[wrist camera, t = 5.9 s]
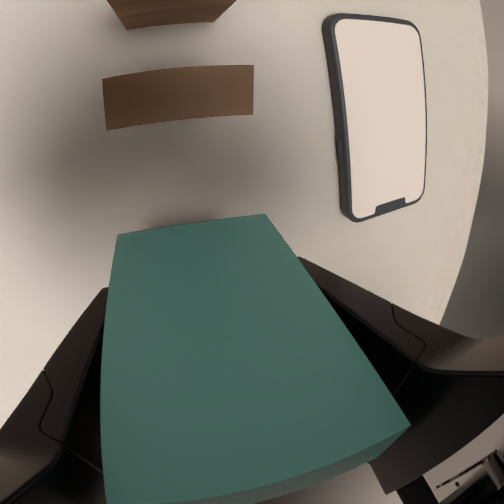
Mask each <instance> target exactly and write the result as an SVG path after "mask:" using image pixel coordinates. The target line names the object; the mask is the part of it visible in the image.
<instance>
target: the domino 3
mask: <svg viewBox="0 0 504 504" xmlns="http://www.w3.org/2000/svg"><path fill="white" fill-rule="evenodd" d="M100 423H101V449H102V464H103V476H104V485H105V494H106V502H107V504H252V503H255V502H259V501H263V500H267V499H271V498H274V497H278V496H281V495H285V494H288V493H291V492H294V491H297V490H300V489H303V488H306V487H309V486H312V485H314V484H317V483H320V482H323V481H325V480H328V479H330V478H333V477H335V476H338V475H340V474H342V473H345V472H347V471H349V470H352V469H353V468H356V467H358V466H360V465H362V464H364V463H367V462H369V461H371V460H373V459H375V458H377V457H378V456H379V455H380V454H381V453H382V452H383V451H384V450H386V449H387V448H388V447H389V446H390V445H391V444H392V443H393V442H394V441H395V440H396V439H397V438H398V437H399V436H400V435H401V434H403V433H404V432H405V431H406V430H407V429H408V428H409V427H410V425H411V424H410V423H409V421H408V420H407V418H406V416H405V415H404V413H403V412H402V410H401V409H400V407H399V406H398V404H397V402H396V401H395V399H394V398H393V396H392V395H391V393H390V392H389V390H388V389H387V387H386V386H385V384H384V382H383V381H382V379H381V378H380V376H379V375H378V373H377V372H376V370H375V369H374V367H373V366H372V364H371V363H370V361H369V360H368V358H367V357H366V355H365V354H364V352H363V351H362V350H361V348H360V347H359V345H358V344H357V342H356V341H355V339H354V338H353V336H352V335H351V333H350V332H349V330H348V329H347V328H346V326H345V325H344V323H343V322H342V320H341V319H340V317H339V316H338V315H337V313H336V312H335V310H334V309H333V307H332V306H331V304H330V303H329V302H328V300H327V299H326V297H325V296H324V295H323V293H322V292H321V290H320V289H319V287H318V286H317V285H316V283H315V282H314V280H313V279H312V278H311V276H310V275H309V273H308V272H307V271H306V269H305V268H304V266H303V265H302V264H301V262H300V261H299V259H298V258H297V257H296V255H295V254H294V253H293V251H292V250H291V248H290V247H289V246H288V244H287V243H286V242H285V240H284V239H283V238H282V236H281V235H280V233H279V232H278V231H277V229H276V228H275V227H274V225H273V224H272V223H271V221H270V220H269V219H268V217H267V216H266V215H265V214H259V215H251V216H243V217H235V218H227V219H219V220H212V221H205V222H198V223H190V224H183V225H177V226H170V227H163V228H157V229H150V230H144V231H137V232H131V233H125V234H119V235H118V236H117V241H116V247H115V252H114V258H113V264H112V270H111V276H110V283H109V290H108V298H107V306H106V314H105V324H104V335H103V348H102V364H101V391H100Z"/></svg>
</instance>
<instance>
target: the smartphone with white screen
mask: <svg viewBox="0 0 504 504" xmlns="http://www.w3.org/2000/svg"><path fill="white" fill-rule="evenodd" d="M322 34H323V39H324V45H325V52H326V58H327V65H328V72H329V79H330V87H331V95H332V103H333V112H334V122H335V132H336V143H337V156H338V169H339V185H340V203H341V211H342V213H343V214H344V215H345V216H346V217H347V218H348V219H350V220H351V221H353V222H362V221H365V220H367V219H370V218H373V217H376V216H379V215H382V214H385V213H388V212H391V211H394V210H397V209H400V208H403V207H406V206H409V205H412V204H414V203H416V202H418V201H419V200H420V199H421V197H422V195H423V193H424V188H425V174H426V153H427V107H426V86H425V73H424V62H423V53H422V45H421V37H420V33H419V31H418V29H417V27H416V26H415V25H414V24H413V23H412V22H410V21H407V20H402V19H395V18H388V17H380V16H371V15H360V14H344V13H339V14H334V15H331V16H329V17H327V18H326V19H325V20H324V22H323V25H322Z"/></svg>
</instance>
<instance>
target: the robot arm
mask: <svg viewBox="0 0 504 504" xmlns="http://www.w3.org/2000/svg"><path fill="white" fill-rule="evenodd" d="M297 258H298V259H299V261H300V262H301V264H302V265H303V266H304V268H305V269H306V271H307V272H308V273H309V275H310V276H311V278H312V279H313V280H314V282H315V283H316V285H317V286H318V287H319V289H320V290H321V292H322V293H323V295H324V296H325V297H326V299H327V300H328V302H329V303H330V304H331V306H332V307H333V309H334V310H335V312H336V313H337V315H338V316H339V317H340V319H341V320H342V322H343V323H344V325H345V326H346V328H347V329H348V330H349V332H350V333H351V335H352V336H353V338H354V339H355V341H356V342H357V344H358V345H359V347H360V348H361V350H362V351H363V352H364V354H365V355H366V357H367V358H368V360H369V361H370V363H371V364H372V366H373V367H374V369H375V370H376V372H377V373H378V375H379V376H380V378H381V379H382V381H383V382H384V384H385V386H386V387H387V389H388V390H389V392H390V393H391V395H392V396H393V398H394V399H395V401H396V402H397V404H398V406H399V407H400V409H401V410H402V412H403V413H404V415H405V416H406V418H407V420H408V421H409V423H410V424H411V425H410V427H409V428H408V429H407V430H406V431H405V432H404V433H403V434H401V435H400V436H399V437H398V438H397V439H396V440H395V441H394V442H393V443H392V444H391V445H390V446H389V447H388V448H387V449H386V450H384V451H383V452H382V453H381V454H380V455H379V456H378V457H377V458H375V459H373V460H371V461H369V462H367V463H369V464H370V465H371V467H372V469H373V471H374V473H375V475H376V477H377V479H378V481H379V483H380V485H381V487H382V489H383V491H384V492H385V494H386V495H387V494H389V493H391V492H393V491H395V490H396V491H397V493H398V495H399V497H400V499H401V500H402V502H403V504H504V336H501V337H496V338H489V339H473V338H469V337H466V336H463V335H461V334H459V333H456V332H454V331H452V330H449V329H447V328H444V327H442V326H440V325H437V324H435V323H433V322H430V321H428V320H426V319H424V318H421V317H419V316H417V315H415V314H413V313H411V312H409V311H407V310H405V309H403V308H401V307H399V306H397V305H395V304H391V302H389V301H387V300H385V299H383V298H381V297H379V296H377V295H375V294H373V293H371V292H369V291H367V290H365V289H364V288H362V287H360V286H358V285H356V284H354V283H352V282H350V281H348V280H346V279H344V278H342V277H340V276H338V275H336V274H334V273H332V272H330V271H328V270H326V269H324V268H322V267H320V266H318V265H316V264H314V263H312V262H310V261H308V260H306V259H304V258H302V257H297ZM108 290H109V287H106V288H103V289H101V291H100V292H99V293H98V294H97V296H96V297H95V298H94V299H93V301H92V302H91V303H90V305H89V306H88V307H87V309H86V310H85V311H84V312H83V314H82V315H81V316H80V318H79V319H78V320H77V322H76V323H75V324H74V326H73V327H72V328H71V330H70V331H69V333H68V334H67V335H66V337H65V338H64V339H63V341H62V342H61V344H60V345H59V346H58V348H57V349H56V351H55V352H54V354H53V355H52V356H51V358H50V359H49V361H48V362H47V364H46V365H45V367H44V370H42V371H41V373H40V374H39V376H38V377H37V379H36V380H35V382H34V383H33V385H32V386H31V388H30V389H29V391H28V392H27V394H26V395H25V396H24V398H23V399H22V400H21V402H20V403H19V404H18V406H17V407H16V409H15V410H14V411H13V413H12V414H11V415H10V417H9V418H8V419H7V421H6V422H5V424H4V425H3V426H2V428H1V429H0V504H107V502H106V494H105V485H104V476H103V464H102V449H101V423H100V391H101V364H102V348H103V335H104V324H105V314H106V306H107V298H108Z"/></svg>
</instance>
